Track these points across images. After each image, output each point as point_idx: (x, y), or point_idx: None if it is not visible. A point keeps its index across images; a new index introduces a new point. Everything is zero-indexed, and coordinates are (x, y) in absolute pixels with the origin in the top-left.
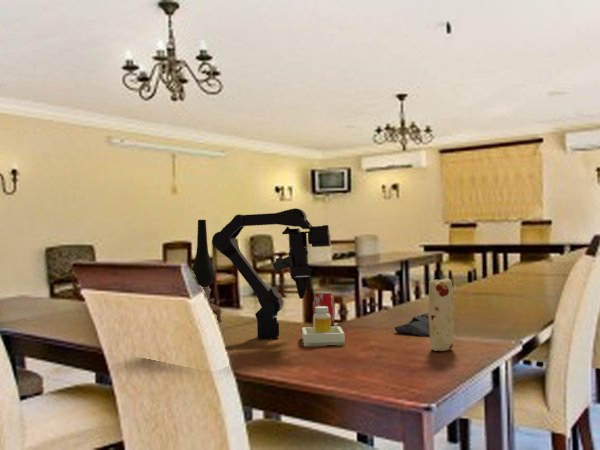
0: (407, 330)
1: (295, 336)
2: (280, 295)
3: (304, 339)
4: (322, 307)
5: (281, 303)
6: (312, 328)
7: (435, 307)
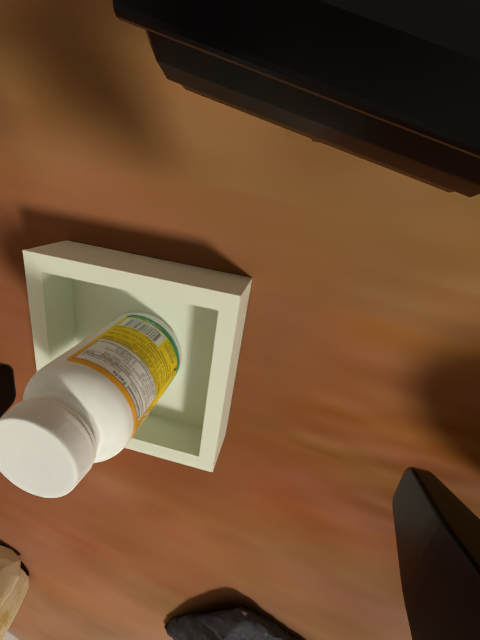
0: (201, 622)
1: (329, 257)
2: (475, 103)
3: (42, 247)
4: (16, 459)
5: (304, 131)
6: (214, 347)
7: None
